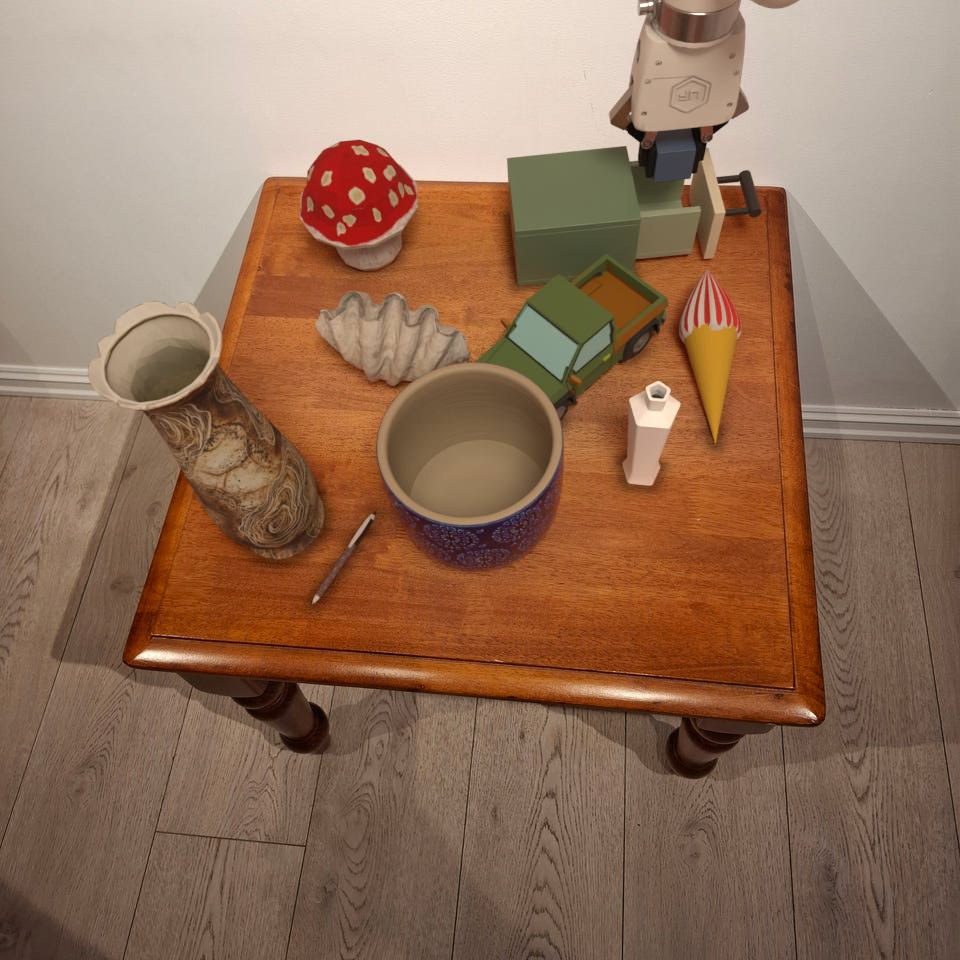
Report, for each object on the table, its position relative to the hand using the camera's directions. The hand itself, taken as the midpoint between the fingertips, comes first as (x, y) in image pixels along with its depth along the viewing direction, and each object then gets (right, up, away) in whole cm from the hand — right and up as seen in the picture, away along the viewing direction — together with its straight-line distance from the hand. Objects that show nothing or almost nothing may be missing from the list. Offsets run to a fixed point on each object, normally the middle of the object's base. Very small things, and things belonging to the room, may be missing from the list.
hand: (669, 165), depth 91 cm
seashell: (-30, -21, +4) cm, 37 cm away
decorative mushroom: (-34, -6, +12) cm, 36 cm away
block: (0, 0, 0) cm, 0 cm away
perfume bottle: (-4, -33, -4) cm, 34 cm away
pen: (-34, -42, -6) cm, 54 cm away
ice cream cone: (+4, -22, +1) cm, 22 cm away
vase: (-41, -38, -4) cm, 57 cm away
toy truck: (-11, -21, +3) cm, 24 cm away
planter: (-20, -37, -5) cm, 43 cm away
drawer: (+3, -4, +9) cm, 10 cm away
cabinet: (-10, -6, +10) cm, 15 cm away
